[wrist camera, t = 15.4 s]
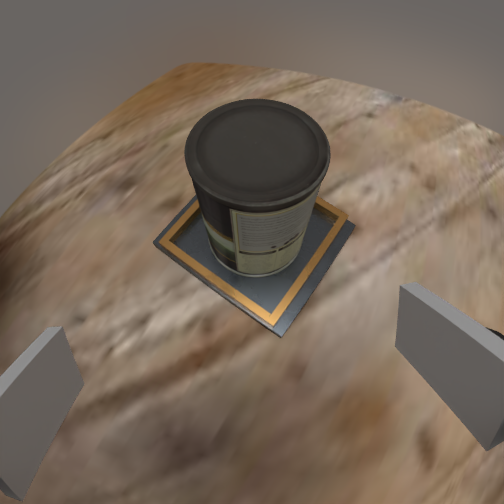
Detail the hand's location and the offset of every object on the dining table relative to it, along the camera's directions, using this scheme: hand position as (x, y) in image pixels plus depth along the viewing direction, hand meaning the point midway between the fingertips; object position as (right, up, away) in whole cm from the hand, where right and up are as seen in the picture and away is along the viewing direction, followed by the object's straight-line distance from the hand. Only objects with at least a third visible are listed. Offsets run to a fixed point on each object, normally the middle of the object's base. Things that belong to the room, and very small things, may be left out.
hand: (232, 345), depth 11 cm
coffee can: (+1, +5, +23) cm, 24 cm away
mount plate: (+1, +5, +24) cm, 25 cm away
